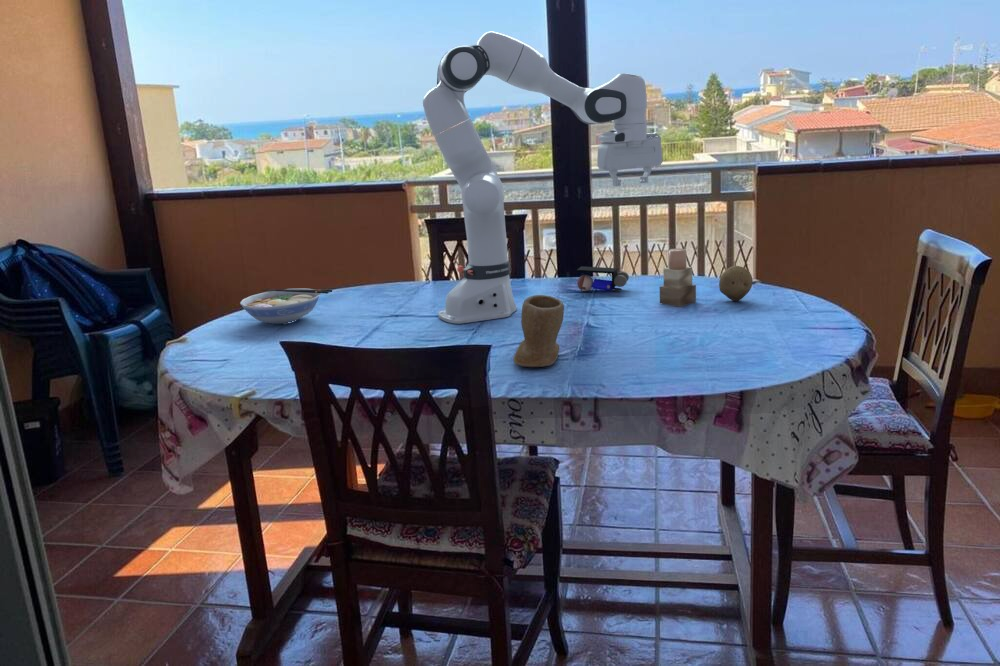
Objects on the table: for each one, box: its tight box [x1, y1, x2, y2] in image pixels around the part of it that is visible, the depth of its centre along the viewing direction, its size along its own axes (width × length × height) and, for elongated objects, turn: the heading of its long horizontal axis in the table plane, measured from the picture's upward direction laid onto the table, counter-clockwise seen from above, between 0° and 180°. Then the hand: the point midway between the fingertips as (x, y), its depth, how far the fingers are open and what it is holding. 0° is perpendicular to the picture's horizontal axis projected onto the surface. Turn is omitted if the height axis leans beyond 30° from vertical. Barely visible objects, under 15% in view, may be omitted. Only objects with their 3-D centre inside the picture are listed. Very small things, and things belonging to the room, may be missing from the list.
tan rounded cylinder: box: [668, 248, 687, 270], centre depth 222 cm, size 5×5×5 cm
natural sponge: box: [718, 265, 754, 302], centre depth 220 cm, size 9×9×10 cm
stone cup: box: [512, 294, 565, 368], centre depth 182 cm, size 15×12×15 cm
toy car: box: [576, 265, 630, 293], centre depth 244 cm, size 7×8×15 cm
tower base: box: [659, 283, 697, 308], centre depth 224 cm, size 7×7×5 cm
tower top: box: [663, 265, 693, 289], centre depth 223 cm, size 6×6×5 cm
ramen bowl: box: [239, 287, 333, 325], centre depth 234 cm, size 25×23×8 cm
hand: (630, 184), depth 228 cm, fingers open, 8 cm apart
